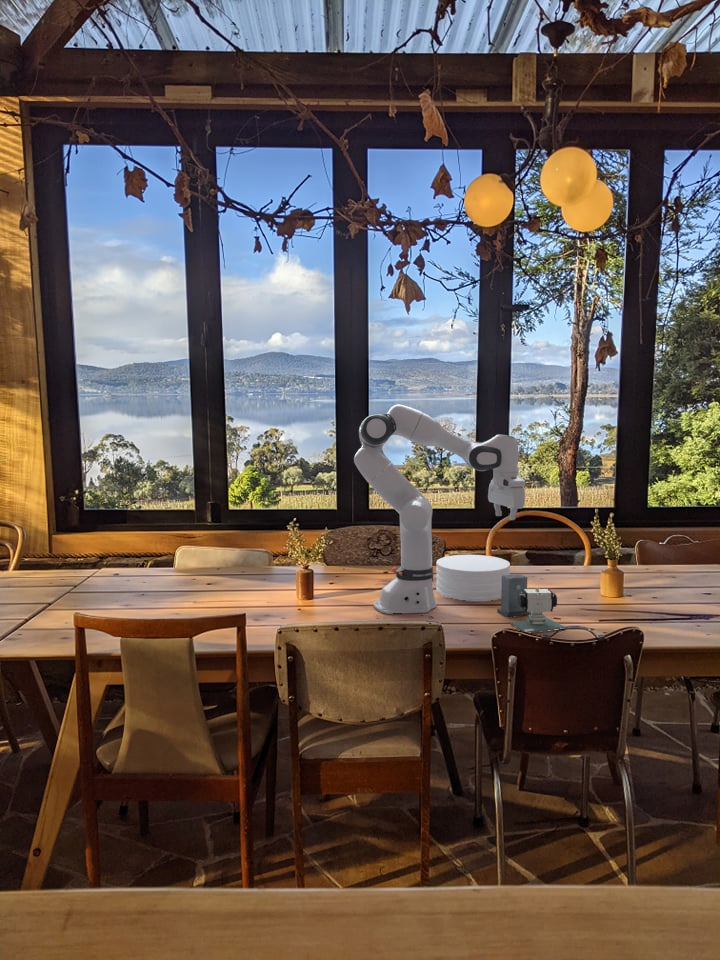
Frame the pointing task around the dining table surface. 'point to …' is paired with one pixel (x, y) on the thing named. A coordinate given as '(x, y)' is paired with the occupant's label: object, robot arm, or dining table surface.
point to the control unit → (512, 595)
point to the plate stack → (471, 577)
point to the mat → (537, 626)
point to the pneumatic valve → (537, 603)
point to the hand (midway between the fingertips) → (505, 517)
